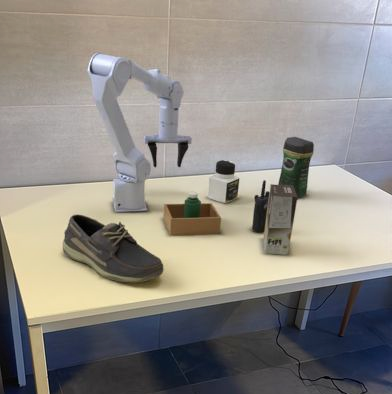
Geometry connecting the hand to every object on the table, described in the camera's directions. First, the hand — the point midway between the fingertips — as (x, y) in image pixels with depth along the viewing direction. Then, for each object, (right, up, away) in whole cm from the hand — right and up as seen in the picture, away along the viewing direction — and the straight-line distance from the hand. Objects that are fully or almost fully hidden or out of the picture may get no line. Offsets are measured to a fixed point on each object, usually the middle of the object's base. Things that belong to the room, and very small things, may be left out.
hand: (166, 166), depth 171 cm
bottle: (+8, -21, -16) cm, 27 cm away
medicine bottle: (+18, -9, +5) cm, 21 cm away
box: (+8, -21, -16) cm, 27 cm away
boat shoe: (-12, -34, -40) cm, 54 cm away
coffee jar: (+42, -6, +13) cm, 44 cm away
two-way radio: (+27, -22, -14) cm, 38 cm away
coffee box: (+31, -28, -24) cm, 48 cm away
